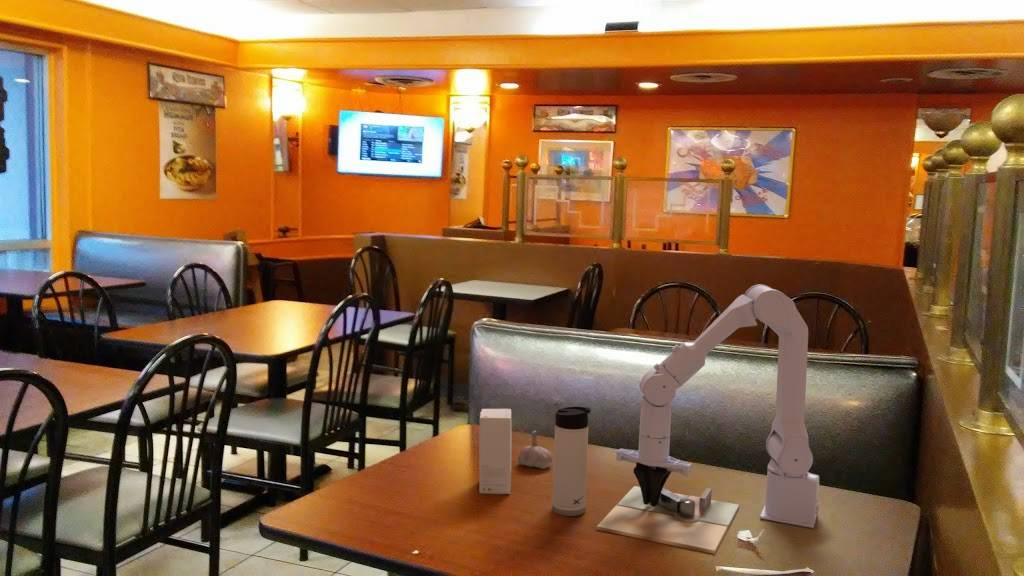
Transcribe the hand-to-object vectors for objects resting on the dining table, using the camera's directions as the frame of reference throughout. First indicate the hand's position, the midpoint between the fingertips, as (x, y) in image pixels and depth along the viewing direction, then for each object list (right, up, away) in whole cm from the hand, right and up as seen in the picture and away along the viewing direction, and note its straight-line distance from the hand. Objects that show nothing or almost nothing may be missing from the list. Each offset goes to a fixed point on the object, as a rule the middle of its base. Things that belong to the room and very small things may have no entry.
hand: (650, 503), depth 156 cm
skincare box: (-30, 0, +11) cm, 32 cm away
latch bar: (+4, 0, 0) cm, 4 cm away
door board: (+3, -2, -3) cm, 5 cm away
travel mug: (-16, -1, -1) cm, 16 cm away
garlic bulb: (-21, +2, +24) cm, 32 cm away
